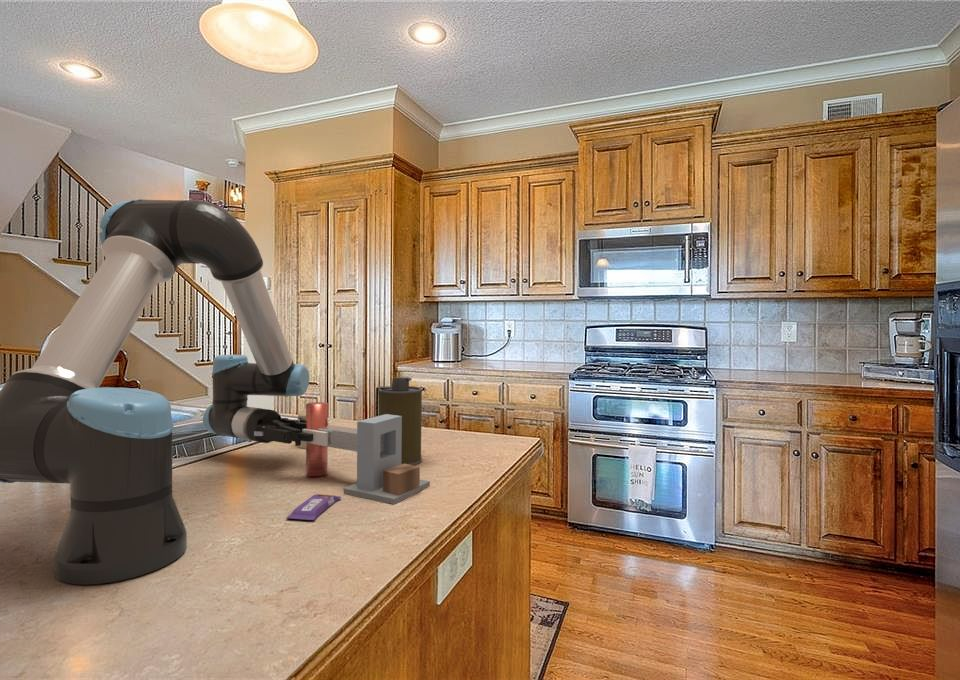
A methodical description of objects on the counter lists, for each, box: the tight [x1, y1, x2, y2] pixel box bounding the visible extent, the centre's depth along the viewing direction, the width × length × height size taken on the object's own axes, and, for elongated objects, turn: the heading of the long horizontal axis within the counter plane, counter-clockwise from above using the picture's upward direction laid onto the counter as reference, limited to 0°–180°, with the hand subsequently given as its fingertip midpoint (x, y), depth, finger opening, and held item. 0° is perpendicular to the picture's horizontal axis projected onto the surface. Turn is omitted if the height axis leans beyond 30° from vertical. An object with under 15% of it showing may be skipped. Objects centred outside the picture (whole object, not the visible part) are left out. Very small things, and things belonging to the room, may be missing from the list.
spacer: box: [383, 464, 421, 495], centre depth 100 cm, size 6×4×4 cm
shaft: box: [305, 401, 385, 477], centre depth 108 cm, size 4×19×15 cm, turn 63°
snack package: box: [285, 493, 342, 521], centre depth 92 cm, size 12×2×5 cm
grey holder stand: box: [343, 414, 431, 505], centre depth 102 cm, size 12×12×14 cm
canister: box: [375, 376, 423, 466], centre depth 123 cm, size 11×10×20 cm
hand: (335, 436), depth 109 cm, fingers closed on shaft, 4 cm apart
